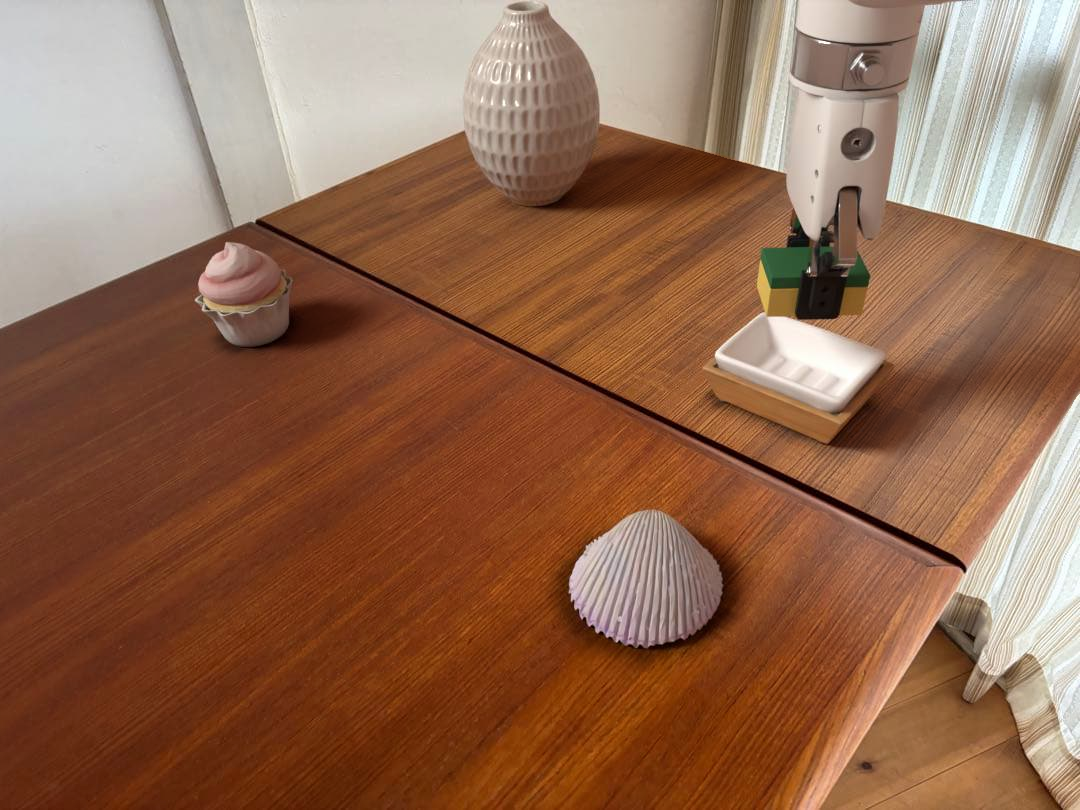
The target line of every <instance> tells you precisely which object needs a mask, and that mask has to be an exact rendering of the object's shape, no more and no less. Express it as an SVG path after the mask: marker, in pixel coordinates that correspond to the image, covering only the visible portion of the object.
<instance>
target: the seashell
mask: <svg viewBox="0 0 1080 810" xmlns="http://www.w3.org/2000/svg"><path fill="white" fill-rule="evenodd" d="M723 587H724V584H723V577H722V571H720V564H718V562H717V559H715V558H714V555H713V553H710V551H709V549H708V548H705V547H703V545H702V544H700V542H699V541H698V540H697V539H696V537H695V536H693V534H692V533H690V531H689V530H688V529H687V528H686V527H685V526H683V525H682V524H681V523H680V522H679V521H678V520H676V519H675V518H674V517H672V516H671V515H669V514H667V513H664V511H662V510H661V511H660V510H657V509H642V510H638V511H637V512H634V513H630V514H629V515H628V516H626V517H624V518H623V519H621V520H620V521H619V522H618V523H616V525H614V526H613V527H612V528H611V529H610V530H609V531H607V532H605V533H603V534H602V536H600V535H599V536H598V538H597V539H596V538H595V539H593V541H591V542H590V543H588V545H587V544H586V545H585V550H583V554H582V555H580V557H579V558H578V559H577V561H576V562H575V564H574V568H573V569H572V572H571V575H570V577H569V581H568V588H569V589H568V595H570V603H573V602H574V604H573V605H574V606H573V608H574V611H575V612H576V611H577V610H579V616H580V619H581V620H583V619H584V618H585V620H586V624H587V626H588V627H591V626H594V631H595V633H596V634H599V633H600V632H603V634H604V636H605V638H606V639H607V638H609V637H610V638H611V639H612V640H613V642H615V643H618V642H619V641H620V643H622V645H623V646H629V645H632V646H633V647H634V649H635V648H638V647H639V646H640V645H641V646H642V647H643V648H644V649H649V647H651V646H652V647H653V646H656V645H664V644H665V643H672V642H675V641H677V640H679V639H682V640H683V641H685V640H687V639H688V637H689V636H690V635H691V636H693V635H695V634H696V632H697V630H699V631H701V629H702V628H703V626H706V625H707V623H708V622H709V620H712V617H713V615H714V614H715V613H716V611H717V610H718V607H719V606H720V602H721V596H722V595H723V591H722V590H723Z"/></svg>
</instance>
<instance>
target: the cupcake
mask: <svg viewBox="0 0 1080 810" xmlns="http://www.w3.org/2000/svg"><path fill="white" fill-rule="evenodd" d="M286 275H287V273H286V270H285V269H280V267H279V265H278V263H277V262H276V261H275V260H273V258H271V256H269V255H267V254H266V253H264V252H262V251H259V250H256V249H253V248H251V247H250V246H249V245H246V244H243V243H239V242H230V241H226V242H225V244H224V249H223V250H220V251H219V252H216V253H215V254H214V255H213V256H212V257H211V259H210V260H209V261H208V263H207V265H206V267H205V270H204V271H203V272H202V273H201V275H200V277H199V278H198V284H197V285H198V286H197V287H198V291H199V293H200V295H198V296H197V297H196V298H194V301H195V302H196V303H197V304H198V305H199V306H200V307H201V312H203V313H204V314H205V315H206V316H207V317H208V318H210V319H211V320H212V321H213V322H214V324H215V325H216V327H217V328H218V330H219V332H220V333H221V335H222V336H223V338H224V339H225V340H226V341H227V342H228V343H230V344H232V345H234V346H236V347H241V348H243V347H244V348H253V347H258V346H264V345H267V344H270V343H272V342H274V341H276V340H278V339H279V338H280V337H282V336H283V335H284V334H285V333H286V331H287V330H288V327H289V325H290V294H291V289H292V285H293V278H292V277H290V276H286Z"/></svg>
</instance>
